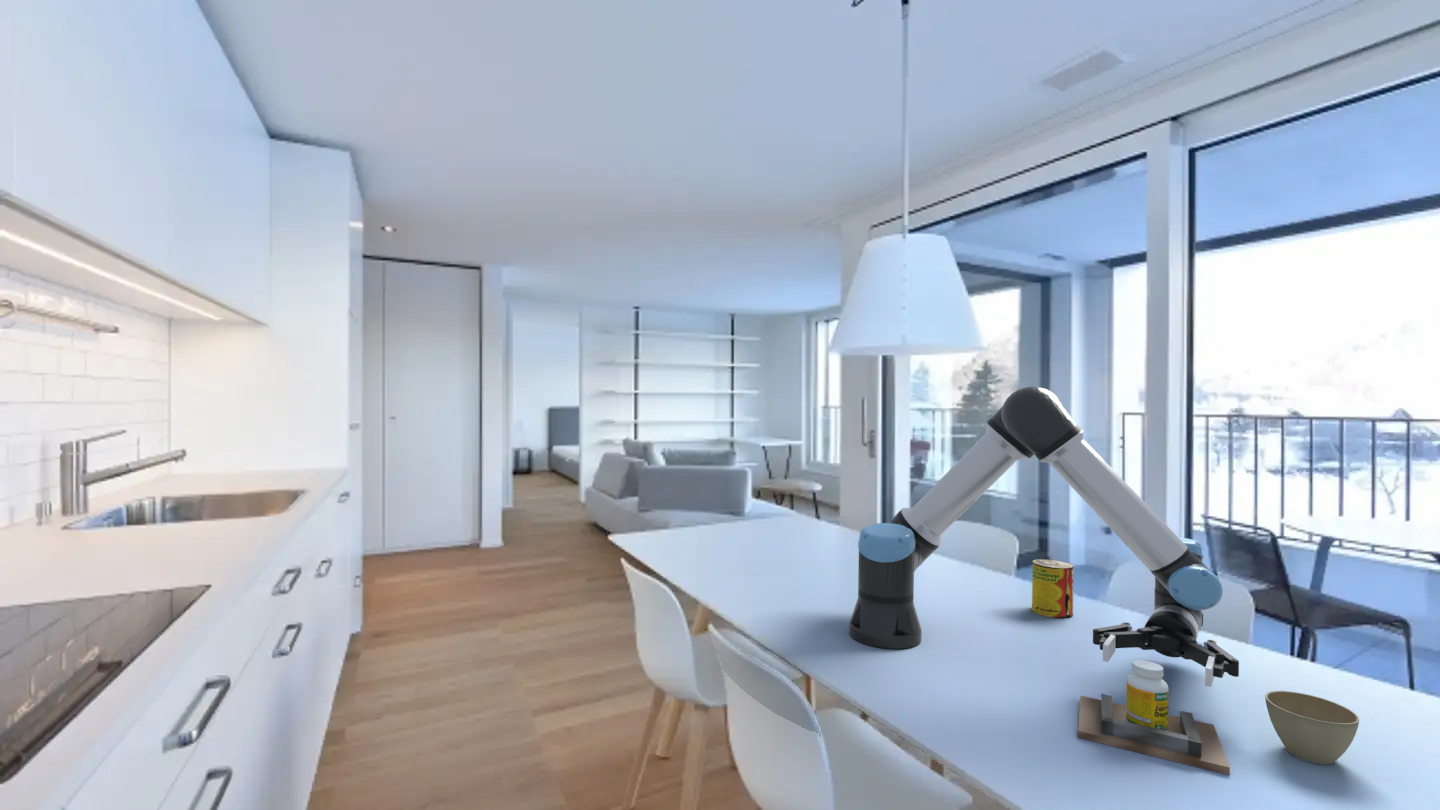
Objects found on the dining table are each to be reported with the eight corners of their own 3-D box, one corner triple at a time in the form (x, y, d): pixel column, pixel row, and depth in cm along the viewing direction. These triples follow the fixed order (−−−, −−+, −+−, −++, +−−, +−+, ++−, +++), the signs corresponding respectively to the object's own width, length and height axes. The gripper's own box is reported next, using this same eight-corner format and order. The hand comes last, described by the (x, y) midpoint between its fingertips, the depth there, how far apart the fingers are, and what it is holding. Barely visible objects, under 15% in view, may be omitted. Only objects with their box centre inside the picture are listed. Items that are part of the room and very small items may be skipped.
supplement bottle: (1135, 715, 100) (1136, 655, 101) (1174, 730, 96) (1175, 667, 96) (1119, 724, 98) (1120, 662, 98) (1158, 740, 93) (1159, 674, 93)
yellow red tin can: (1050, 619, 150) (1051, 568, 150) (1023, 607, 159) (1024, 559, 159) (1081, 617, 152) (1082, 567, 152) (1053, 605, 161) (1054, 558, 161)
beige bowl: (1246, 738, 96) (1247, 691, 96) (1306, 736, 97) (1307, 689, 97) (1313, 776, 86) (1314, 723, 86) (1379, 774, 87) (1380, 722, 87)
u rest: (1078, 737, 95) (1078, 717, 95) (1080, 701, 107) (1080, 683, 107) (1229, 774, 86) (1230, 752, 86) (1213, 730, 98) (1213, 711, 98)
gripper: (1259, 671, 108) (1256, 714, 92) (1093, 634, 125) (1067, 666, 109) (1260, 627, 108) (1257, 663, 92) (1094, 596, 125) (1067, 622, 109)
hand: (1154, 664), depth 101 cm, fingers open, 13 cm apart
